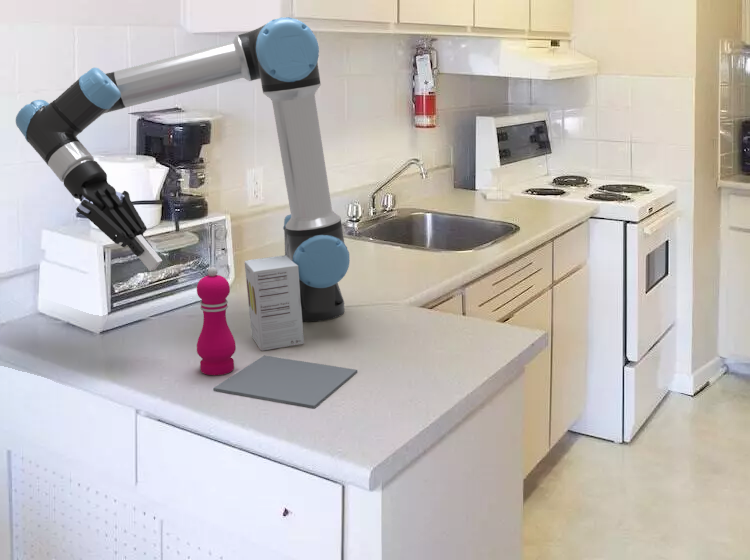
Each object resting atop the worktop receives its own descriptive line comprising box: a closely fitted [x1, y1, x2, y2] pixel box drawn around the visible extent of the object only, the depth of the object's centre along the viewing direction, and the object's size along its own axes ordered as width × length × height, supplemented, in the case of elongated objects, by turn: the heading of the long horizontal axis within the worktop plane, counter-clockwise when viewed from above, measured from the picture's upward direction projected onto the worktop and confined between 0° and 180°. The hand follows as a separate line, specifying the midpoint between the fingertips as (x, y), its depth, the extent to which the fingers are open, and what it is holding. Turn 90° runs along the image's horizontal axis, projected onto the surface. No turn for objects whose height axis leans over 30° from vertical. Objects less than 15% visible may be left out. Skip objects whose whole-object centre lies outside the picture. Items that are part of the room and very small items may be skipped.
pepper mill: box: [196, 266, 237, 376], centre depth 157 cm, size 7×7×20 cm
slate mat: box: [213, 355, 358, 409], centre depth 155 cm, size 20×18×1 cm
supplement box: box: [244, 254, 305, 352], centre depth 173 cm, size 10×9×17 cm
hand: (156, 265), depth 159 cm, fingers closed
